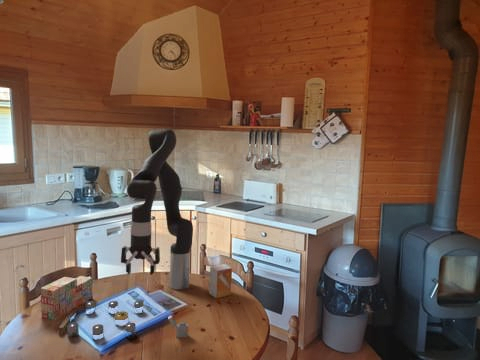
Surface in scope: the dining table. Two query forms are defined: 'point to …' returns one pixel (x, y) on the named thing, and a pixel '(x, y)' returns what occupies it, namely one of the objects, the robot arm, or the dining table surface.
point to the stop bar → (66, 321)
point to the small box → (220, 280)
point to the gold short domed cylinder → (121, 315)
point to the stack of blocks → (64, 296)
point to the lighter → (179, 328)
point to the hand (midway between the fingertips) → (140, 273)
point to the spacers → (98, 329)
